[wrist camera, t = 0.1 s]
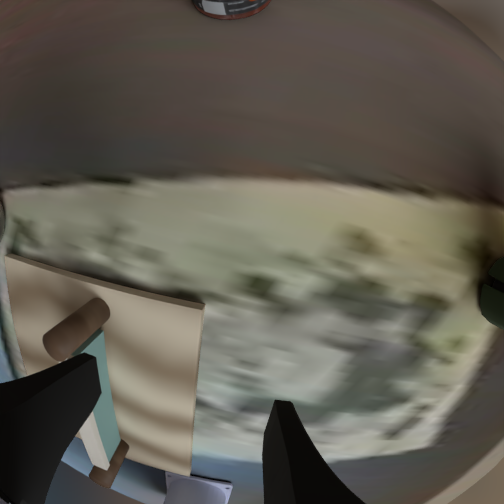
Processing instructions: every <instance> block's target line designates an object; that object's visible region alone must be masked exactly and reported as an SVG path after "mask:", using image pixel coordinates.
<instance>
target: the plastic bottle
mask: <svg viewBox="0 0 504 504" xmlns="http://www.w3.org/2000/svg"><path fill="white" fill-rule="evenodd" d="M4 227H5V217H4V211H3V207H2V204H1V201H0V242H1V240H2V237H3V234H4Z"/></svg>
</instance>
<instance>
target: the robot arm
mask: <svg viewBox="0 0 504 504" xmlns="http://www.w3.org/2000/svg"><path fill="white" fill-rule="evenodd" d="M101 393H102V391H101V385H100V379H99V373H98V366H97V359H96V357H95V356H93V355H90V354H88V353H85V352H84V353H81V354H79V355H76V356H74V357H72V358H69V359H67V360H65V361H63V362H61V363H58V364H56V365H54V366H52V367H49V368H47V369H45V370H42V371H39V372H37V373H34V374H31V375H29V376H26V377H23V378H20V379H17V380H13V381H9V382H5V383H0V504H9V502H10V503H11V504H44V503H45V500H46V496H47V492H48V490H49V487H50V484H51V481H52V479H53V476H54V474H55V471H56V469H57V467H58V465H59V463H60V461H61V459H62V456H63V454H64V452H65V451H66V449H67V447H68V446H69V444H70V443H71V441H72V440H73V438H74V437H75V435H76V434H77V433H78V431H79V430H80V428H81V427H82V426H83V424H84V423H85V421H86V420H87V418H88V417H89V416H90V414H91V413H92V411H93V409H94V407H95V406H96V404H97V402H98V400H99V397H100V395H101ZM262 460H263V484H264V504H365V503H364V502H363V501H362V500H361V499H360V498H358V497H357V496H356V495H355V494H354V493H353V492H352V491H350V490H349V489H348V488H347V487H346V486H345V484H344V483H343V482H342V481H341V480H340V479H339V478H338V477H337V476H336V475H335V473H334V472H333V471H332V470H331V469H330V467H329V466H328V465H327V463H326V462H325V461H324V459H323V458H322V456H321V455H320V453H319V452H318V450H317V449H316V447H315V446H314V444H313V442H312V441H311V439H310V437H309V436H308V434H307V432H306V430H305V428H304V426H303V425H302V423H301V421H300V419H299V417H298V414H297V412H296V410H295V408H294V405H293V403H292V402H291V401H281V400H275V401H274V404H273V407H272V411H271V414H270V417H269V420H268V423H267V426H266V429H265V432H264V440H263V452H262ZM165 476H166V485H167V494H166V497H165V501H164V504H227V503H228V500H229V497H230V494H231V490H232V487H233V484H231V483H228V482H221V481H215V480H210V479H205V478H200V477H195V476H191V475H190V477H189V476H184V475H180V474H176V473H172V472H169V471H166V472H165Z"/></svg>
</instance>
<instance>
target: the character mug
mask: <svg viewBox="0 0 504 504" xmlns="http://www.w3.org/2000/svg"><path fill="white" fill-rule="evenodd" d="M488 274H489V275H491V276H493V277H494V278H496V280H495V281H494V283H493V286H492V287H490V286H488V285H486V284H484V285H483V287H482V292H481V298H480V305H481V312H482V315H483V316H484V317H485V318H486V319H487V320H488V321H489V322H490V323H492V324H494V325H496V326H497V327H499V328H501V329H503V330H504V257H502V258H500V259H498V260H497V261H496V263H495V264H494V265H493V266H492V268H491V269H490V270H489V273H488Z"/></svg>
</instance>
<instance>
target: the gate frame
mask: <svg viewBox="0 0 504 504" xmlns="http://www.w3.org/2000/svg"><path fill="white" fill-rule="evenodd" d="M5 266H6V276H7V285H8V292H9V299H10V305H11V311H12V316H13V321H14V326H15V331H16V335H17V339H18V344H19V347H20V351H21V355H22V359H23V362H24V365H25V369H26V372H27V375H28V376H29V375H31V374H34V373H37V372H39V371H42V370H45V369H47V368H49V367H52V366H54V365H56V364H58V363H59V362H63V361H65V360H66V359H67V358H68V357H69V356H70V355H71V354H72V353H73V352H74V351H75V350H76V349H77V348H78V347H79V346H80V345H81V344H83V343H84V342H85V341H86V340H87V339H88V338H89V337H90V336H91V335H92V334H93V333H94V332H95V331H97V330H98V329H100V330H103V331H104V339H105V350H106V359H107V367H108V375H109V382H110V388H111V395H112V400H113V406H114V411H115V416H116V421H117V426H118V430H119V435H120V439H121V441H120V443H119V445H118V447H117V448H116V450H115V452H114V454H113V456H112V458H111V460H110V462H109V464H110V466H109V468H108V470H104V469H102V468H100V467H97V466H95V465H94V467H93V468H92V470H91V472H90V474H89V477H90V479H91V480H93V481H94V482H95V483H97V484H98V485H100V486H102V487H105V488H111V485H112V483H113V481H114V479H115V477H116V475H117V473H118V471H119V469H120V467H121V464H122V462H123V460H124V458H127V459H130V460H133V461H136V462H139V463H142V464H145V465H148V466H151V467H155V468H158V469H161V470H165V471H169V472H172V473H176V474H180V475H184V476H189V477H190V473H191V463H192V445H193V429H194V415H195V403H196V391H197V379H198V368H199V358H200V348H201V339H202V329H203V321H204V312H205V304H201V303H196V302H191V301H186V300H182V299H177V298H172V297H168V296H163V295H159V294H155V293H150V292H146V291H142V290H138V289H133V288H129V287H125V286H121V285H117V284H114V283H110V282H106V281H102V280H98V279H95V278H91V277H87V276H84V275H80V274H76V273H73V272H69V271H66V270H63V269H59V268H56V267H53V266H49V265H46V264H43V263H40V262H36V261H33V260H30V259H27V258H24V257H21V256H18V255H15V254H12V253H11V254H8V255H5ZM75 436H76V437H78V438H80V439H82V438H81V435H80V432H79V431H78V433H77V434H76V435H75Z"/></svg>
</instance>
